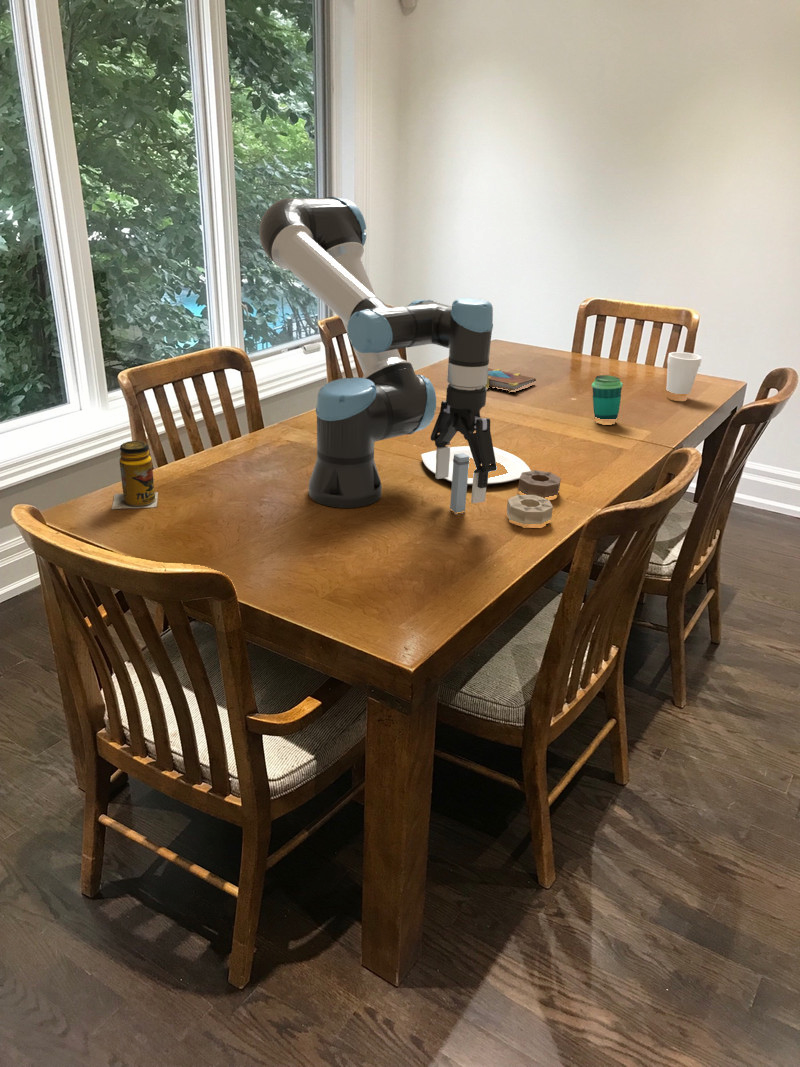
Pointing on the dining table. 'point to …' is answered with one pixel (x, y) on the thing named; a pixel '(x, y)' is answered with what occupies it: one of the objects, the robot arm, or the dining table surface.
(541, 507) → the maple bead
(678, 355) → the foam cup
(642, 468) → the dining table surface
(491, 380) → the book
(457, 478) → the long pale blue brick
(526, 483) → the walnut bead
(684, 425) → the dining table surface
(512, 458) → the plate
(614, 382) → the cup
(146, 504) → the condiment
